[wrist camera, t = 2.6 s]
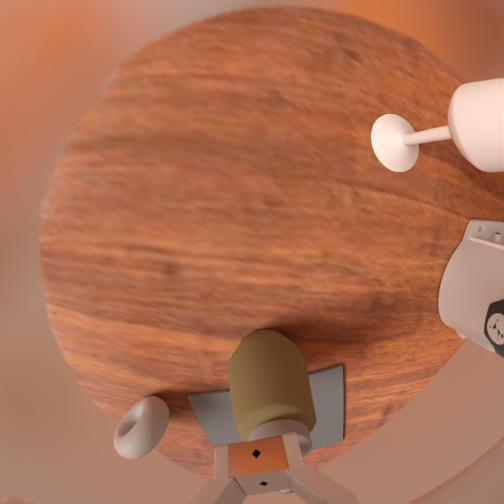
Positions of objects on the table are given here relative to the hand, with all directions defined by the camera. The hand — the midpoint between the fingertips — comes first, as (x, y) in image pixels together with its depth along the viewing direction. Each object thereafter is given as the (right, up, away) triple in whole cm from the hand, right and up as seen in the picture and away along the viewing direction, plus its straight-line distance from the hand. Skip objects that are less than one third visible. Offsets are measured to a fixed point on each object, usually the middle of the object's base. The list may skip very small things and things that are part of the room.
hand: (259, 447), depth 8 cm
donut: (-14, -13, +23) cm, 30 cm away
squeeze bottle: (+1, -4, +22) cm, 22 cm away
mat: (+3, -17, +25) cm, 30 cm away
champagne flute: (+15, +19, +17) cm, 30 cm away
